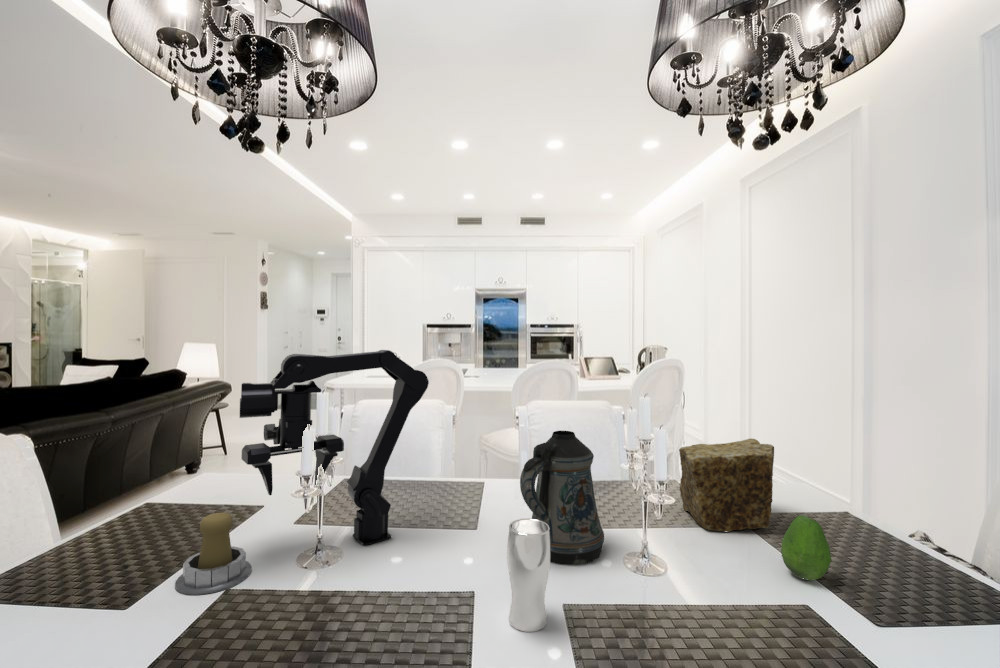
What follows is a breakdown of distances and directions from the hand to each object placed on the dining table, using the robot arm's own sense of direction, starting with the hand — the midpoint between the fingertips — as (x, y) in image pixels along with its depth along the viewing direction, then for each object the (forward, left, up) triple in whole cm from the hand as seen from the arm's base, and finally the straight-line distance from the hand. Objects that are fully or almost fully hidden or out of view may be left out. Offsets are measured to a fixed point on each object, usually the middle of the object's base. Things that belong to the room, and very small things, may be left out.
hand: (294, 490), depth 95 cm
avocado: (-73, +71, -13) cm, 103 cm away
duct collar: (+14, +1, -13) cm, 19 cm away
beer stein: (-45, +34, -13) cm, 58 cm away
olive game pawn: (+14, +1, -13) cm, 19 cm away
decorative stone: (-90, +48, -13) cm, 103 cm away
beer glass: (-22, +47, -13) cm, 54 cm away
